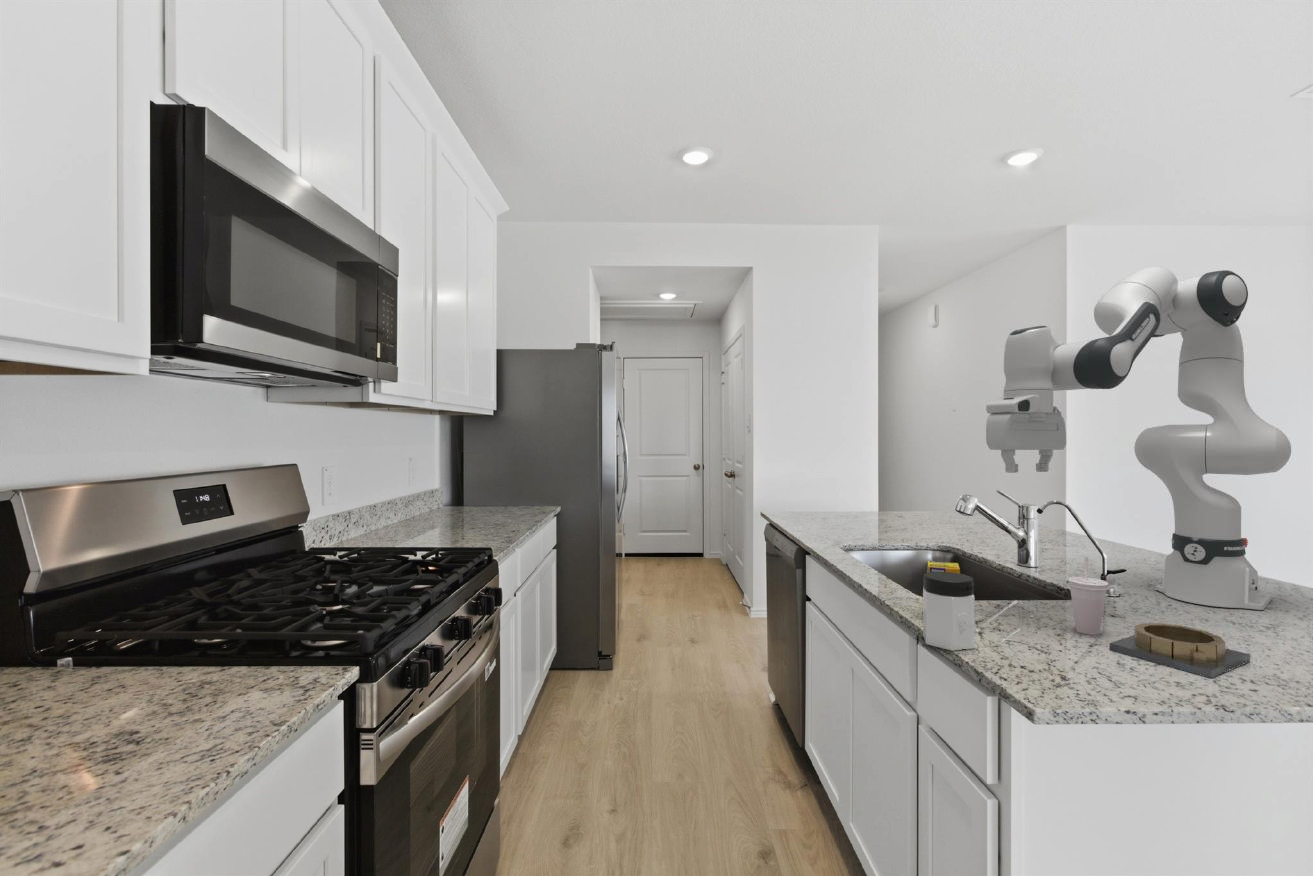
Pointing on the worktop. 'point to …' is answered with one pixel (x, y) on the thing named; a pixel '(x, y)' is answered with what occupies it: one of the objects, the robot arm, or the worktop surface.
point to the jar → (948, 610)
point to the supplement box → (942, 567)
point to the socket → (1180, 648)
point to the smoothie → (1088, 602)
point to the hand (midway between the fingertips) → (1027, 472)
